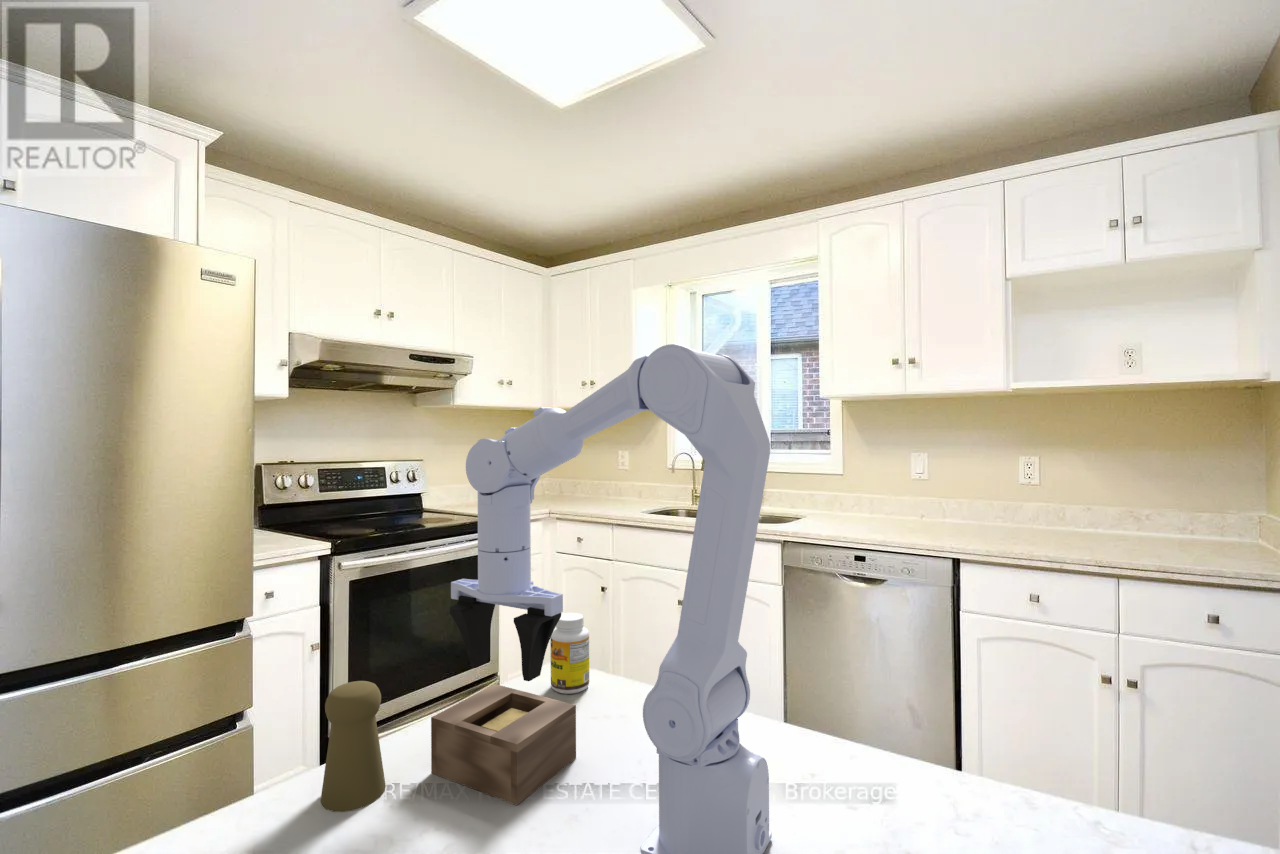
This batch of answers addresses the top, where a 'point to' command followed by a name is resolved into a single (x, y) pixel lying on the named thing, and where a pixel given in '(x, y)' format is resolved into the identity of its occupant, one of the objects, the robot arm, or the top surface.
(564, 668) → the supplement bottle
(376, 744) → the cork
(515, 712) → the block
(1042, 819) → the top surface
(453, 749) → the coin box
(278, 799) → the top surface
